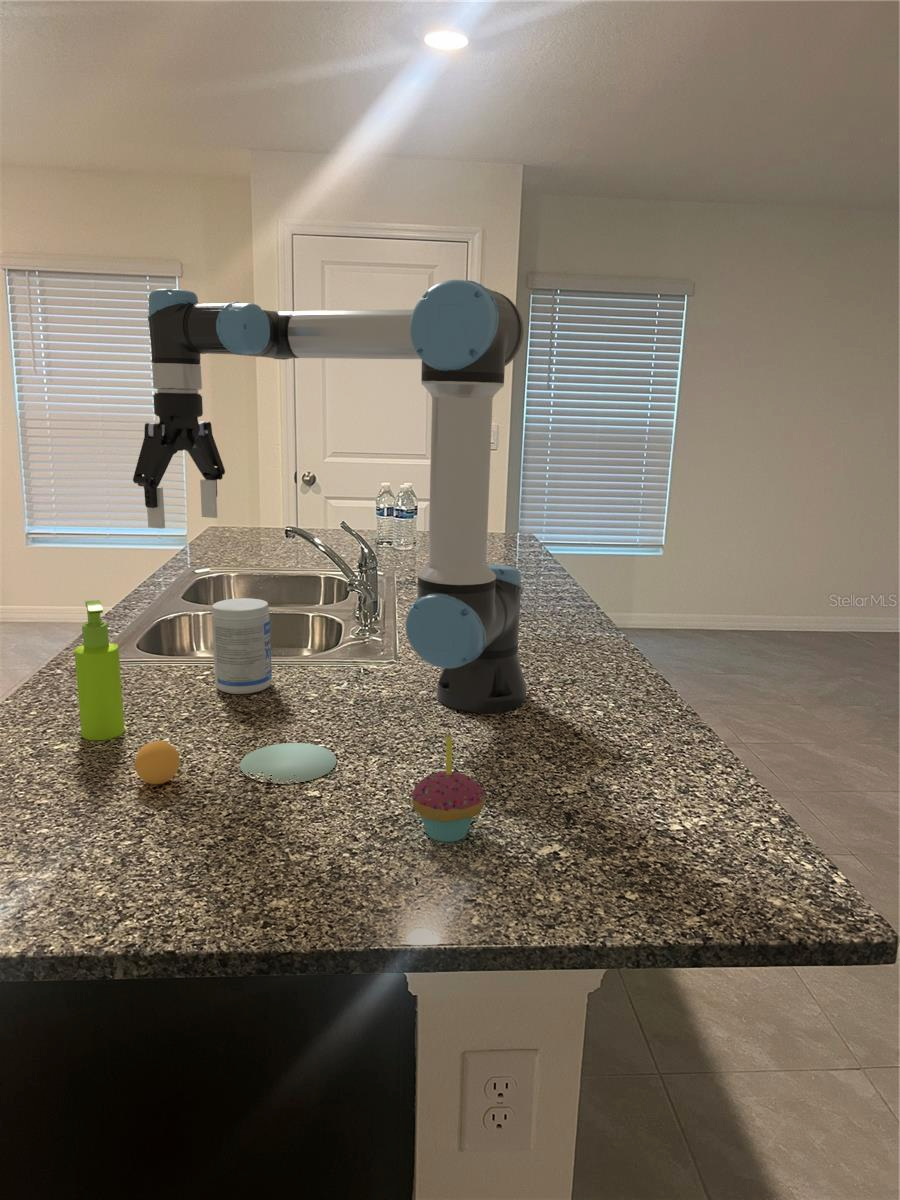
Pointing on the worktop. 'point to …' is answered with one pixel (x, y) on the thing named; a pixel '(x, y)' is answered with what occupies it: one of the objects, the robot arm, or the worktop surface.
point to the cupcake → (448, 801)
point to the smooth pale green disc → (289, 762)
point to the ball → (157, 762)
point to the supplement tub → (242, 645)
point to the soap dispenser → (98, 679)
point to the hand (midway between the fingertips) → (184, 522)
